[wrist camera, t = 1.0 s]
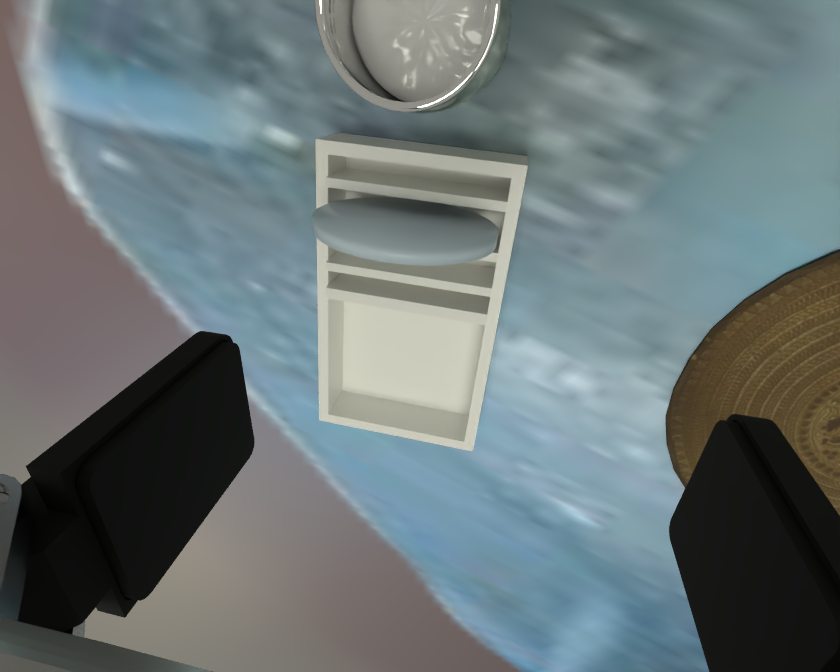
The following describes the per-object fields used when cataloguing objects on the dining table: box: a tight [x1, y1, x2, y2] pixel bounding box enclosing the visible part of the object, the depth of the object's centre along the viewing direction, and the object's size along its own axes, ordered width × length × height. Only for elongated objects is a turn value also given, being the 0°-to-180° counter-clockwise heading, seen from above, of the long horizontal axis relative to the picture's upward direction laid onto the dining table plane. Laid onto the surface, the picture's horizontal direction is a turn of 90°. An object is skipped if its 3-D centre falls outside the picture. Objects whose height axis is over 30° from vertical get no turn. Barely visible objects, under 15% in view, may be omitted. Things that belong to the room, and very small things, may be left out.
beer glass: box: [315, 0, 511, 114], centre depth 23 cm, size 7×7×15 cm
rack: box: [313, 133, 528, 451], centre depth 32 cm, size 22×13×12 cm, turn 175°
